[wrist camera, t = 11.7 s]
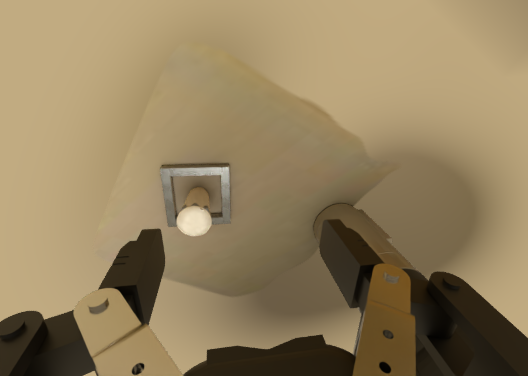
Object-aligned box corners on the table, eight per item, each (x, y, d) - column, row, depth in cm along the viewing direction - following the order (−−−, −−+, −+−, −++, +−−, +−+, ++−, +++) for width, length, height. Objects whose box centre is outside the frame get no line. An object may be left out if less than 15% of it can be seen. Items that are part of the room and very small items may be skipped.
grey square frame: (228, 163, 40) (229, 167, 39) (230, 218, 44) (230, 223, 43) (162, 165, 39) (160, 168, 37) (169, 222, 43) (168, 226, 41)
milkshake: (219, 185, 41) (219, 216, 32) (205, 211, 43) (202, 248, 34) (193, 174, 40) (185, 203, 31) (179, 202, 42) (168, 237, 33)
